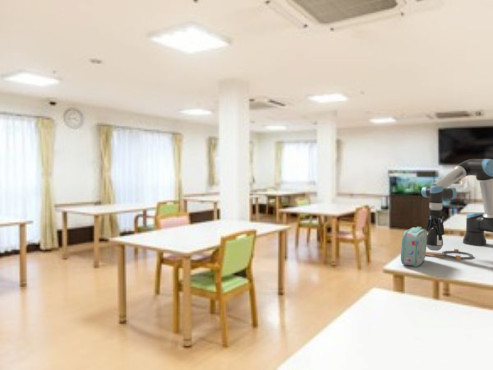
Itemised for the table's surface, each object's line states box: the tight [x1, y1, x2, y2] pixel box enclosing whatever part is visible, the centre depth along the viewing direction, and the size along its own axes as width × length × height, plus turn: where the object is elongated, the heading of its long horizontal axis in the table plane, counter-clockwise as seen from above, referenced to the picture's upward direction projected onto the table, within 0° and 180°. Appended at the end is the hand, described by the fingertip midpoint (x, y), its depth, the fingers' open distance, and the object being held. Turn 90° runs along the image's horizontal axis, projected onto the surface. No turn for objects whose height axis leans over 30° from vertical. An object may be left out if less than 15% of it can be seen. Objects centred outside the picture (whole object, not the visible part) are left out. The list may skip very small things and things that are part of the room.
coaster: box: [425, 251, 445, 259], centre depth 255 cm, size 11×11×1 cm
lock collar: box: [441, 248, 474, 261], centre depth 254 cm, size 22×18×2 cm
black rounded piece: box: [426, 226, 444, 251], centre depth 254 cm, size 10×10×15 cm
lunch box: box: [400, 226, 428, 268], centre depth 235 cm, size 27×10×21 cm, turn 145°
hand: (434, 243), depth 254 cm, fingers closed on black rounded piece, 10 cm apart
